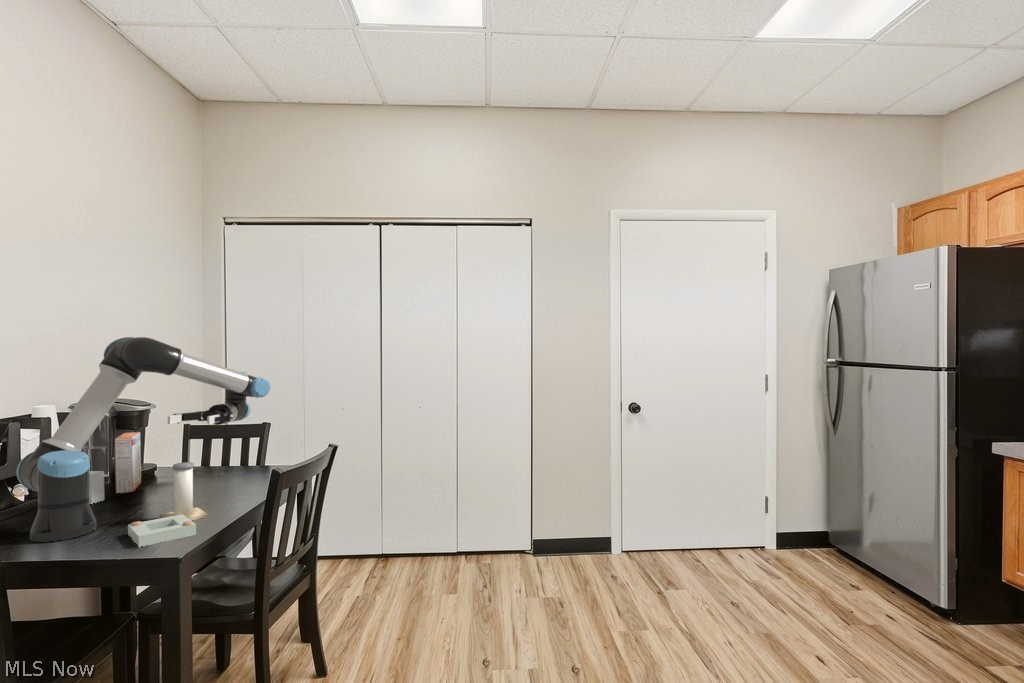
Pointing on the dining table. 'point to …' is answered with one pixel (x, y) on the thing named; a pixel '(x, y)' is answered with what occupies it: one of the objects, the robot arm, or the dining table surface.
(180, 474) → the cylinder
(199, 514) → the board
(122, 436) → the cracker box
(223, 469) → the dining table surface
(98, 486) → the small box
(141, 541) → the frame
